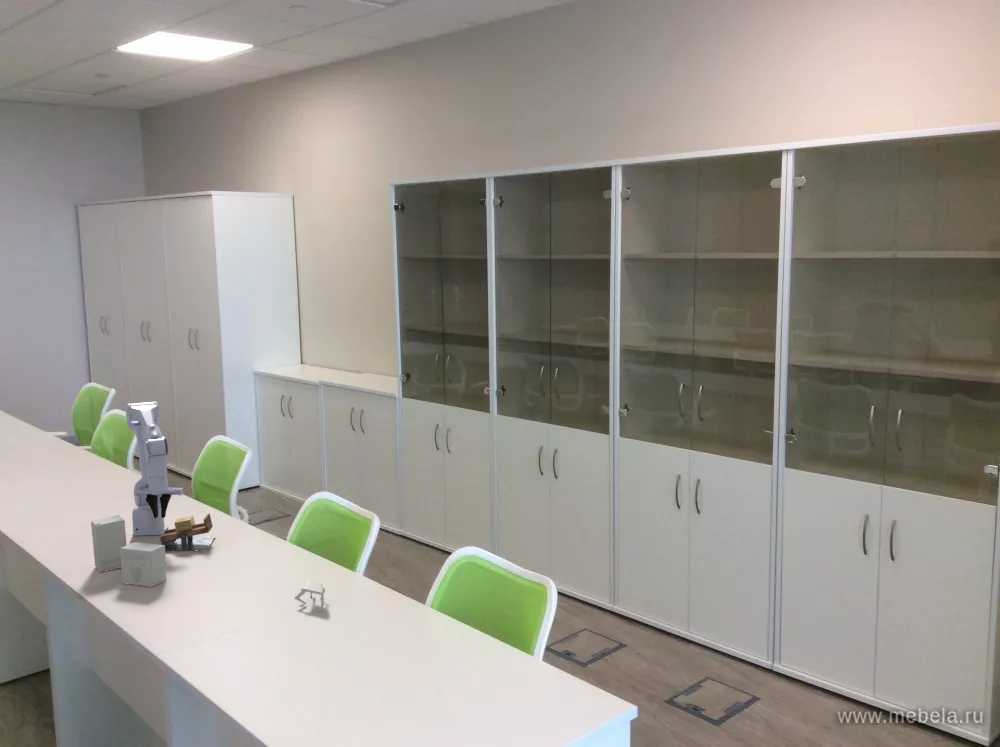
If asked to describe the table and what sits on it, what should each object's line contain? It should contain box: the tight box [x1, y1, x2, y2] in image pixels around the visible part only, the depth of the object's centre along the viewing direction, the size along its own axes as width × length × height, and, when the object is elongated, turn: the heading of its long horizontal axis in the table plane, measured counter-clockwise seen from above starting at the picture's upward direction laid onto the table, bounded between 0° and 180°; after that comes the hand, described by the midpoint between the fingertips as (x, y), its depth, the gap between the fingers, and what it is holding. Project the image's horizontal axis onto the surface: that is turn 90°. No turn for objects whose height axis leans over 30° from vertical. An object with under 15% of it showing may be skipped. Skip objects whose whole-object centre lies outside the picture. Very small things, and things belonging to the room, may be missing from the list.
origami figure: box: [294, 580, 326, 612], centre depth 224 cm, size 12×8×5 cm
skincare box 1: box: [90, 514, 128, 573], centre depth 249 cm, size 8×6×15 cm
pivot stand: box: [165, 534, 213, 553], centre depth 270 cm, size 15×12×5 cm
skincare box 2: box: [120, 541, 167, 588], centre depth 239 cm, size 10×6×10 cm, turn 74°
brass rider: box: [174, 515, 196, 533], centre depth 269 cm, size 5×4×4 cm
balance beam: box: [159, 513, 214, 545], centre depth 269 cm, size 15×6×6 cm, turn 96°
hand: (159, 517), depth 268 cm, fingers closed
